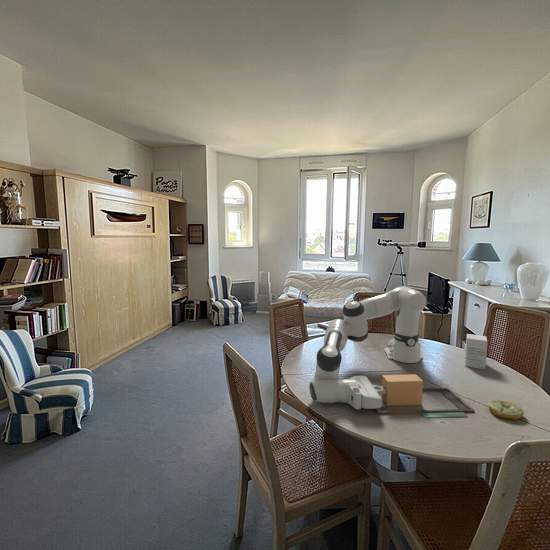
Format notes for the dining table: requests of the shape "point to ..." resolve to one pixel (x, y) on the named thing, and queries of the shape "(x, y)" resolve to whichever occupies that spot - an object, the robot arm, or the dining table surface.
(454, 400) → the trap lane
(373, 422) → the dining table surface
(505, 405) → the decorated donut
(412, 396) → the orange block
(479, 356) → the supplement box
